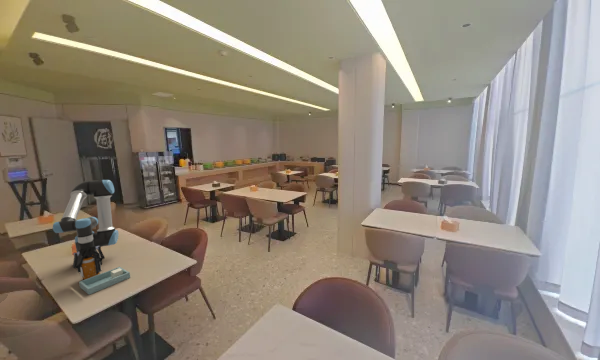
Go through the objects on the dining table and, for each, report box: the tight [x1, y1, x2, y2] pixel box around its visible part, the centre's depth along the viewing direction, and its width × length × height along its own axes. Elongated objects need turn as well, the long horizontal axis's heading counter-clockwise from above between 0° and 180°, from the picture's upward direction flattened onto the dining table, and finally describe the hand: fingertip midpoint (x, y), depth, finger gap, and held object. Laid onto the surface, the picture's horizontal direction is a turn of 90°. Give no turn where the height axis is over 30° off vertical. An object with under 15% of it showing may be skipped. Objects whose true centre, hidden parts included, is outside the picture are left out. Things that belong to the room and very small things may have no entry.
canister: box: [80, 251, 103, 280], centre depth 159 cm, size 9×11×20 cm
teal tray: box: [78, 266, 131, 296], centre depth 154 cm, size 16×22×4 cm
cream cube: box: [111, 268, 123, 279], centre depth 159 cm, size 5×5×5 cm
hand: (91, 272), depth 159 cm, fingers closed on canister, 9 cm apart
